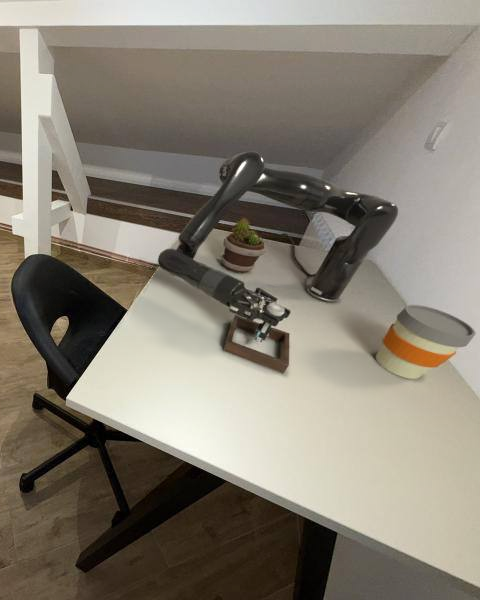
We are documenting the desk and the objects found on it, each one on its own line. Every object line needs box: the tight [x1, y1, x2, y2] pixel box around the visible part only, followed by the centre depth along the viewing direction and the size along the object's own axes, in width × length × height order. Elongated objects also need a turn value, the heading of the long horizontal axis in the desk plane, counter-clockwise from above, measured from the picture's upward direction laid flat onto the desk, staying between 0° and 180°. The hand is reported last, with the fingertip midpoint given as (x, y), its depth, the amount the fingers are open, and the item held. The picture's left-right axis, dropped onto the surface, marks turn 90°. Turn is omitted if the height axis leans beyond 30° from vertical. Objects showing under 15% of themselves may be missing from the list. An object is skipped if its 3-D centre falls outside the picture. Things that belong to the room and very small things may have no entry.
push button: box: [253, 303, 287, 345], centre depth 78 cm, size 7×5×10 cm
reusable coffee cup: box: [375, 304, 476, 380], centre depth 76 cm, size 13×13×15 cm
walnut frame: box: [223, 314, 290, 374], centre depth 82 cm, size 14×14×3 cm
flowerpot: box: [220, 217, 267, 274], centre depth 115 cm, size 14×15×20 cm
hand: (283, 318), depth 75 cm, fingers closed on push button, 5 cm apart
